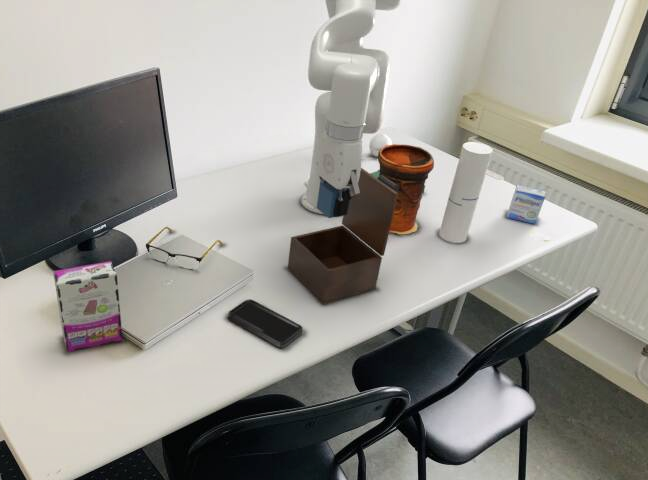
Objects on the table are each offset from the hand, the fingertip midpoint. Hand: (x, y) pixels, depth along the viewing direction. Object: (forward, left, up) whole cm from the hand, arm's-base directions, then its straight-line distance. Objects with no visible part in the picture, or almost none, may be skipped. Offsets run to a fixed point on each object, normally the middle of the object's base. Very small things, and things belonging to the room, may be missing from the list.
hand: (332, 208), depth 142 cm
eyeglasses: (-24, -24, -19) cm, 39 cm away
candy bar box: (-1, -54, -19) cm, 58 cm away
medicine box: (-4, +71, -19) cm, 73 cm away
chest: (0, +3, -19) cm, 19 cm away
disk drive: (-33, +48, -19) cm, 61 cm away
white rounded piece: (-52, +58, -19) cm, 80 cm away
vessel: (-16, +34, -19) cm, 42 cm away
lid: (0, +10, -2) cm, 10 cm away
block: (0, 0, -1) cm, 1 cm away
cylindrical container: (-4, +45, -19) cm, 49 cm away
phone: (+9, -20, -19) cm, 29 cm away
